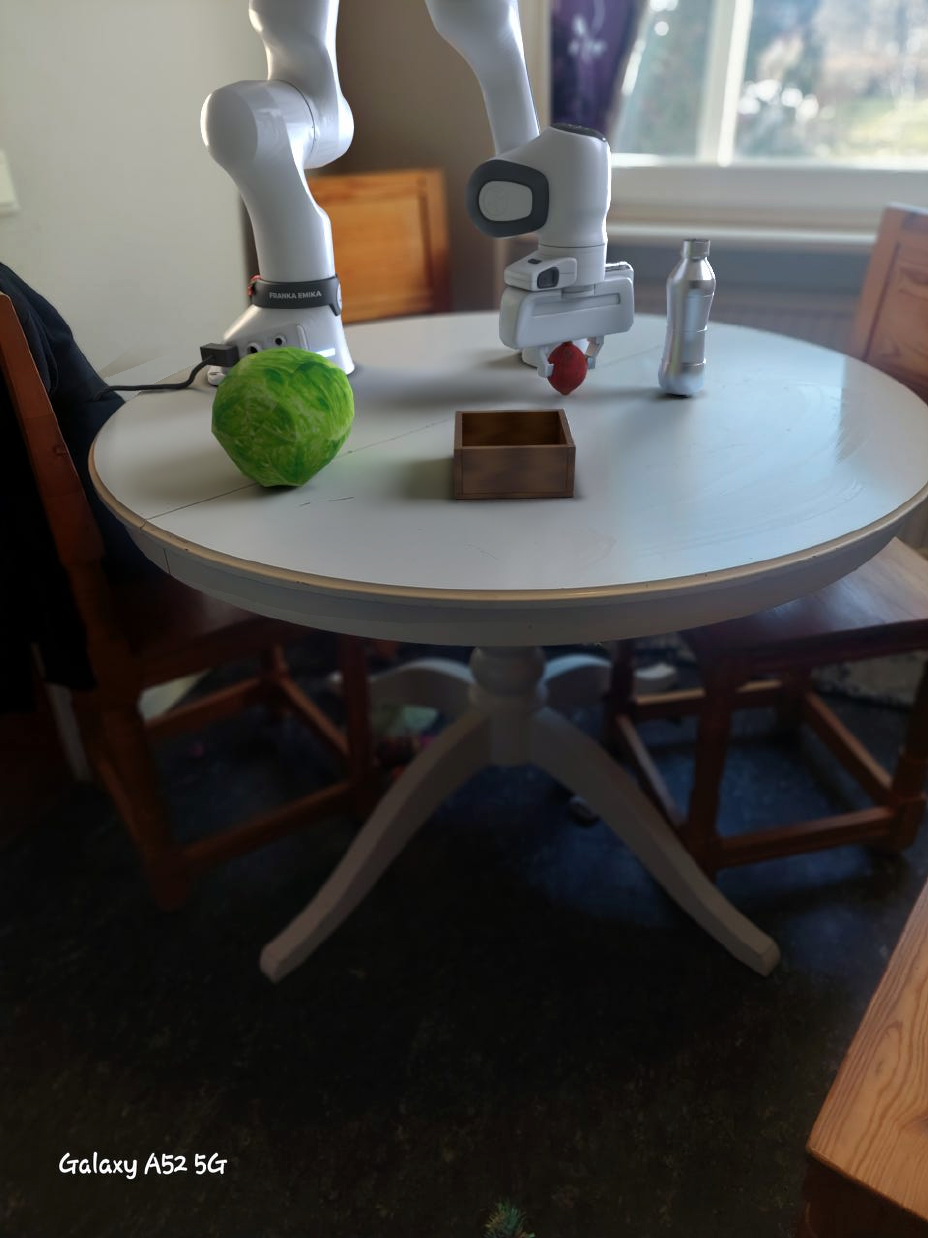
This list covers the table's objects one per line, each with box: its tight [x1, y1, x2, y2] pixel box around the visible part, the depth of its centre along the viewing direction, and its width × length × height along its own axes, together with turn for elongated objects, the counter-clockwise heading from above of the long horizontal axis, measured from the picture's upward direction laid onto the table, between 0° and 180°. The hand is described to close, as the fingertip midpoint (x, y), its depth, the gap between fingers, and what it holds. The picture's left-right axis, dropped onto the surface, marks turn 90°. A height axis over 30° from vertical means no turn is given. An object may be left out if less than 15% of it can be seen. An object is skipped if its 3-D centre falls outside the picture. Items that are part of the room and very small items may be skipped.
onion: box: [546, 341, 588, 396], centre depth 120 cm, size 6×6×8 cm
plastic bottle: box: [657, 237, 717, 396], centre depth 118 cm, size 6×7×20 cm
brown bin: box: [453, 408, 577, 500], centre depth 96 cm, size 13×13×6 cm
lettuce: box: [210, 347, 356, 488], centre depth 99 cm, size 15×22×15 cm
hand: (566, 372), depth 121 cm, fingers closed on onion, 6 cm apart
